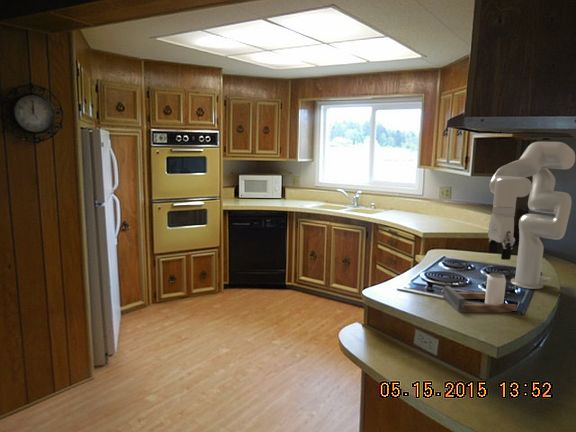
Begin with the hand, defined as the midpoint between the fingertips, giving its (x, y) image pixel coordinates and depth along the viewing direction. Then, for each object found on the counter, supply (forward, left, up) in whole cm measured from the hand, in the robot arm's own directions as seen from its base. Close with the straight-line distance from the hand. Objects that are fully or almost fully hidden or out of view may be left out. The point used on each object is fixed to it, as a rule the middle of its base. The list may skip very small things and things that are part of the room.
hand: (498, 255), depth 163 cm
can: (0, 0, -20) cm, 20 cm away
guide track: (+6, 0, -20) cm, 20 cm away
